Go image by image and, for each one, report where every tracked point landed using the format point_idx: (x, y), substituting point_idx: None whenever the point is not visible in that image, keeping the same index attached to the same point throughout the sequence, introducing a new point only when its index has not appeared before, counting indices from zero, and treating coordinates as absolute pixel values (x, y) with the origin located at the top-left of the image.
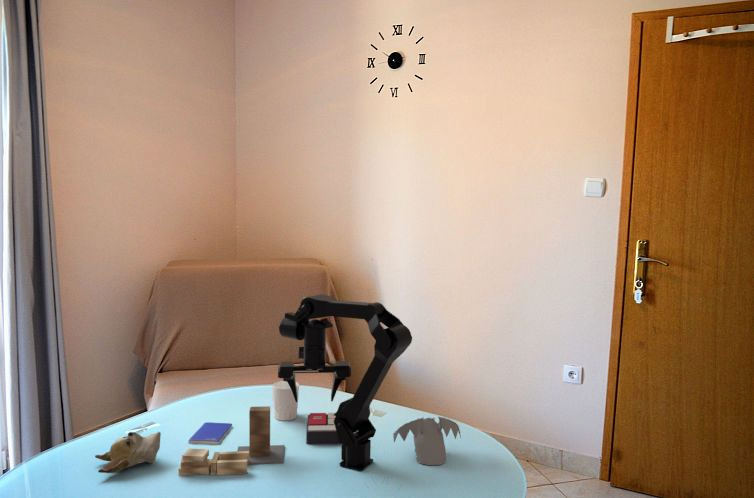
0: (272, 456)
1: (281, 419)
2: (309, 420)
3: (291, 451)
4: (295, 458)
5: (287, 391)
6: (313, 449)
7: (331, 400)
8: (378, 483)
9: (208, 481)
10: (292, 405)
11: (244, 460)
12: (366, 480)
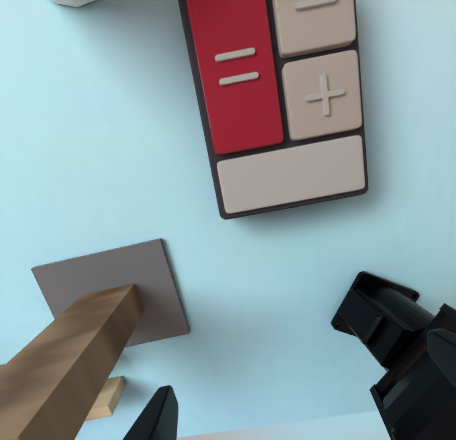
0: (153, 311)
1: (64, 2)
2: (206, 103)
3: (191, 265)
4: (213, 301)
5: None
6: (249, 244)
7: (439, 367)
8: None
9: None
10: None
11: (103, 411)
12: None
